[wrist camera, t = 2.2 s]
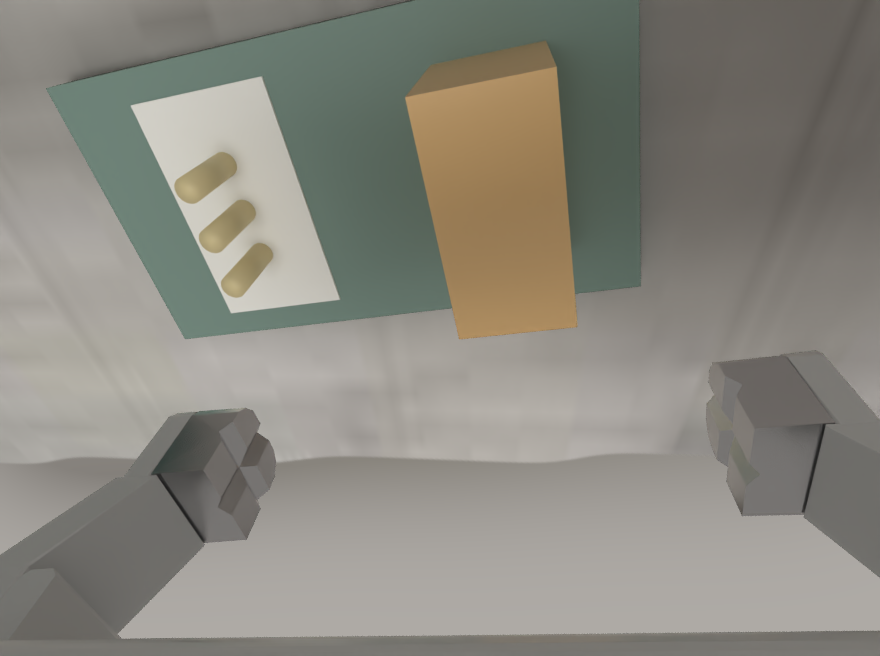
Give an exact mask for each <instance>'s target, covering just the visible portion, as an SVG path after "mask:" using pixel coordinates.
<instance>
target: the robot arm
mask: <svg viewBox="0 0 880 656" xmlns="http://www.w3.org/2000/svg"><path fill="white" fill-rule="evenodd" d="M708 383H709V385H710V387H711V389H712V391H713V393H714V396H713V397H712V398H711V399H710V400H709V402H708V403H707V407H706V423H707V431H708V437H709V440H710V443H711V447H712V449H713V452H714V454H715V456H716V459H717V460H718V461H720V462H721V463H723V464H724V465H726V466H727V467H728V471H727V483H728V486H729V488H730V490H731V492H732V495H733V497H734V499H735V501H736V503H737V506H738V508H739V510H740V512H741V515H742V516H757V515H758V516H760V515H804V518H805V519H807V520H808V521H809V522H810V523H812V524H813V525H814V526H816V527H817V528H818V529H819V530H820V531H822V532H823V533H824V534H825V535H827V536H828V537H829V538H830V539H832V540H833V541H834V542H836V543H837V544H838V545H839V546H841V547H842V548H843V549H844V550H846V551H847V552H848V553H849V554H851V555H852V556H853V557H854V558H856V559H857V560H858V561H860V562H861V563H862V564H863V565H865V566H866V567H867V568H869V569H870V570H871V571H872V572H873V573H875V574H876V575H877V576H878V577H880V419H879V418H878V417H877V416H876V415H875V413H874V412H873V411H872V410H871V409H870V408H869V407H868V405H867V404H866V403H865V402H864V401H863V400H862V398H861V397H860V396H859V395H858V394H857V393H856V391H855V390H854V389H853V388H852V387H851V386H850V384H849V383H848V382H847V381H846V380H845V379H844V378H843V376H842V375H841V374H840V373H839V372H838V371H837V369H836V368H835V367H834V366H833V365H832V364H831V362H830V361H829V360H828V359H827V358H826V357H825V355H824V354H823V353H820V352H818V351H816V350H815V351H807V352H799V353H790V354H782V355H780V356H772V357H762V358H752V359H742V360H733V361H723V362H713V363H712V365H711V367H710V370H709V380H708ZM259 426H260V422H259V420H258V418H257V417H256V415H255V413H254V411H253V410H250V409H247V408H237V409H224V410H210V411H199V412H188V413H177V414H175V415H173V416H170V417H168V419H167V420H166V421H165V423H164V424H163V425H162V427H161V428H160V429H159V431H158V432H157V433H156V435H155V436H154V437H153V439H152V440H151V441H150V443H149V444H148V445H147V447H146V448H145V449H144V450H143V452H142V453H141V454H140V456H139V457H138V458H137V460H136V461H135V462H134V464H133V465H132V466H131V468H130V469H129V470H128V472H127V473H126V474H125V476H124V477H122V478H115V479H114V480H112V481H111V482H109V483H108V484H106V485H105V486H103V487H102V488H100V489H99V490H97V491H96V492H94V493H93V494H91V495H90V496H88V497H86V498H85V499H84V500H82V501H80V502H79V503H78V504H76V505H75V506H73V507H72V508H70V509H69V510H67V511H66V512H64V513H62V514H61V515H59V516H58V517H57V518H55V519H53V520H52V521H51V522H49V523H47V524H46V525H44V526H43V527H42V528H40V529H38V530H37V531H35V532H34V533H32V534H31V535H30V536H28V537H26V538H25V539H23V540H22V541H20V542H19V543H18V544H16V545H14V546H13V547H11V548H10V549H8V550H7V551H5V552H4V553H2V554H1V555H0V656H880V631H811V632H810V631H807V632H719V633H718V632H716V633H715V632H714V633H713V632H712V633H711V632H710V633H631V634H629V633H626V634H625V633H623V634H544V635H543V634H539V635H458V636H457V635H456V636H455V635H453V636H355V637H354V636H353V637H348V636H347V637H249V638H248V637H247V638H151V639H121V637H119V635H118V633H119V632H120V631H121V630H122V629H123V628H124V627H125V626H126V625H127V624H128V623H129V622H130V621H131V620H132V618H134V616H136V615H137V614H138V613H139V612H140V611H141V610H142V608H143V607H144V606H145V605H146V604H147V603H148V602H149V601H150V600H151V599H152V598H153V597H154V596H155V595H156V594H157V593H158V592H159V591H160V590H161V589H162V588H163V587H164V586H165V585H166V584H167V583H168V582H169V581H170V580H171V579H172V578H173V577H174V576H175V575H176V574H177V573H178V572H179V571H180V570H181V569H182V568H183V567H184V566H185V565H186V564H187V563H188V562H189V560H191V559H192V558H193V557H194V555H196V553H197V552H198V551H199V550H200V549H201V548H202V547H203V546H204V543H208V542H222V541H234V540H246V539H247V538H248V535H249V533H250V531H251V529H252V527H253V524H254V522H255V520H256V518H257V516H258V513H259V511H260V506H259V503H258V500H257V499H259V498H260V497H261V496H262V495H263V494H264V493H265V492H267V491H268V490H269V489H270V486H271V484H272V481H273V479H274V477H275V467H276V459H275V454H274V450H273V448H272V446H271V443H270V441H269V440H268V439H266V438H265V437H263V436H262V435H260V434H259V433H257V432H258V429H259Z"/></svg>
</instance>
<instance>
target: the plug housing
mask: <svg viewBox="0 0 880 656" xmlns="http://www.w3.org/2000/svg"><path fill="white" fill-rule="evenodd" d="M405 100H406V104H407V108H408V113H409V117H410V122H411V126H412V131H413V135H414V140H415V144H416V149H417V153H418V158H419V162H420V166H421V171H422V175H423V180H424V184H425V189H426V193H427V198H428V202H429V207H430V211H431V215H432V220H433V224H434V229H435V233H436V238H437V242H438V247H439V251H440V256H441V260H442V265H443V269H444V273H445V278H446V282H447V287H448V291H449V296H450V300H451V305H452V309H453V314H454V318H455V322H456V327H457V331H458V336H459V339H468V338H477V337H487V336H497V335H506V334H516V333H525V332H535V331H545V330H554V329H564V328H574V327H577V314H576V302H575V289H574V277H573V264H572V252H571V240H570V227H569V215H568V202H567V190H566V177H565V165H564V152H563V140H562V127H561V115H560V102H559V90H558V78H557V66H556V64H555V61H554V59H553V57H552V54H551V52H550V49H549V47H548V44H547V42H546V41H541V42H536V43H532V44H527V45H522V46H518V47H513V48H508V49H503V50H499V51H494V52H489V53H484V54H480V55H475V56H470V57H466V58H461V59H456V60H451V61H447V62H442V63H437V64H433V65H430V66H429V68H428V69H427V70H426V71H425V73H424V74H423V75H422V76H421V78H420V79H419V80H418V81H417V83H416V84H415V85H414V87H413V88H412V89H411V90H410V92H409V93H408V94H407V95H406V97H405Z"/></svg>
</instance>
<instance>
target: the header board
mask: <svg viewBox="0 0 880 656" xmlns="http://www.w3.org/2000/svg"><path fill="white" fill-rule="evenodd" d="M541 41H546V42H547V44H548V47H549V49H550V52H551V54H552V57H553V59H554V61H555V64H556V66H557V78H558V90H559V102H560V115H561V127H562V140H563V152H564V165H565V177H566V190H567V202H568V215H569V227H570V240H571V252H572V264H573V277H574V289H575V294H578V293H587V292H595V291H604V290H612V289H621V288H630V287H638V286H641V266H640V62H639V0H411V1H407V2H402V3H398V4H394V5H390V6H386V7H381V8H377V9H373V10H369V11H365V12H361V13H356V14H352V15H348V16H344V17H340V18H335V19H331V20H327V21H323V22H319V23H314V24H310V25H306V26H302V27H298V28H293V29H289V30H285V31H281V32H277V33H273V34H268V35H264V36H260V37H256V38H252V39H247V40H243V41H239V42H235V43H231V44H226V45H222V46H218V47H214V48H210V49H206V50H201V51H197V52H193V53H189V54H185V55H180V56H176V57H172V58H168V59H164V60H159V61H155V62H151V63H147V64H143V65H138V66H134V67H130V68H126V69H122V70H118V71H113V72H109V73H105V74H101V75H97V76H92V77H88V78H84V79H80V80H76V81H71V82H68V83H64V84H60V85H57V86H53V87H49V88H46V90H47V91H48V93H49V95H50V97H51V99H52V100H53V102H54V104H55V106H56V108H57V109H58V111H59V113H60V115H61V117H62V118H63V120H64V122H65V124H66V126H67V127H68V129H69V131H70V133H71V135H72V136H73V138H74V140H75V142H76V144H77V145H78V147H79V149H80V151H81V153H82V154H83V156H84V158H85V160H86V162H87V163H88V165H89V167H90V169H91V171H92V172H93V174H94V176H95V178H96V180H97V181H98V183H99V185H100V187H101V189H102V190H103V192H104V194H105V196H106V198H107V199H108V201H109V203H110V205H111V207H112V208H113V210H114V212H115V214H116V216H117V217H118V219H119V221H120V223H121V225H122V226H123V228H124V230H125V232H126V234H127V235H128V237H129V239H130V241H131V243H132V244H133V246H134V248H135V250H136V252H137V253H138V255H139V257H140V259H141V261H142V262H143V264H144V266H145V268H146V270H147V271H148V273H149V275H150V277H151V279H152V280H153V282H154V284H155V286H156V288H157V289H158V291H159V293H160V295H161V297H162V298H163V300H164V302H165V304H166V306H167V307H168V309H169V311H170V313H171V315H172V316H173V318H174V320H175V322H176V324H177V325H178V327H179V329H180V331H181V333H182V334H183V336H184V338H185V339H191V338H199V337H208V336H216V335H225V334H234V333H242V332H251V331H260V330H268V329H277V328H285V327H294V326H303V325H311V324H320V323H328V322H337V321H346V320H354V319H363V318H371V317H380V316H389V315H397V314H406V313H414V312H423V311H432V310H440V309H449V308H452V305H451V300H450V296H449V291H448V287H447V282H446V278H445V273H444V269H443V265H442V260H441V256H440V251H439V247H438V242H437V238H436V233H435V229H434V224H433V220H432V215H431V211H430V207H429V202H428V198H427V193H426V189H425V184H424V180H423V175H422V171H421V166H420V162H419V158H418V153H417V149H416V144H415V140H414V135H413V131H412V126H411V122H410V117H409V113H408V108H407V104H406V100H405V97H406V95H407V94H408V93H409V92H410V90H411V89H412V88H413V87H414V85H415V84H416V83H417V81H418V80H419V79H420V78H421V76H422V75H423V74H424V73H425V71H426V70H427V69H428V68H429V66H430V65H433V64H437V63H442V62H447V61H451V60H456V59H461V58H466V57H470V56H475V55H480V54H484V53H489V52H494V51H499V50H503V49H508V48H513V47H518V46H522V45H527V44H532V43H536V42H541Z"/></svg>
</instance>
